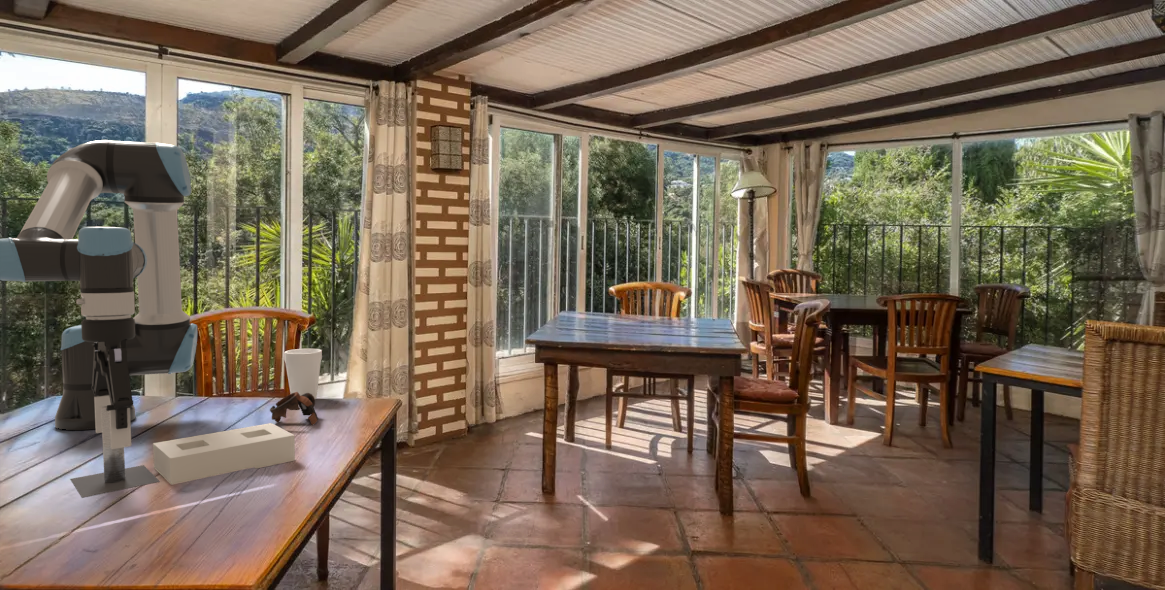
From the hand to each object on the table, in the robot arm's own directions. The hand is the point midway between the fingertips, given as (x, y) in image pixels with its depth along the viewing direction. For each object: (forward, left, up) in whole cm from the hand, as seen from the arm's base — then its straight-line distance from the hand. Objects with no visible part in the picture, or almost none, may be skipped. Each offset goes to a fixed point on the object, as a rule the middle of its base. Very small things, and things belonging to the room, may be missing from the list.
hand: (112, 439), depth 116 cm
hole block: (+3, +17, -8) cm, 19 cm away
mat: (0, 0, -8) cm, 8 cm away
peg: (0, 0, -7) cm, 7 cm away
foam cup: (-42, +50, -8) cm, 66 cm away
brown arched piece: (-19, +39, -8) cm, 45 cm away
